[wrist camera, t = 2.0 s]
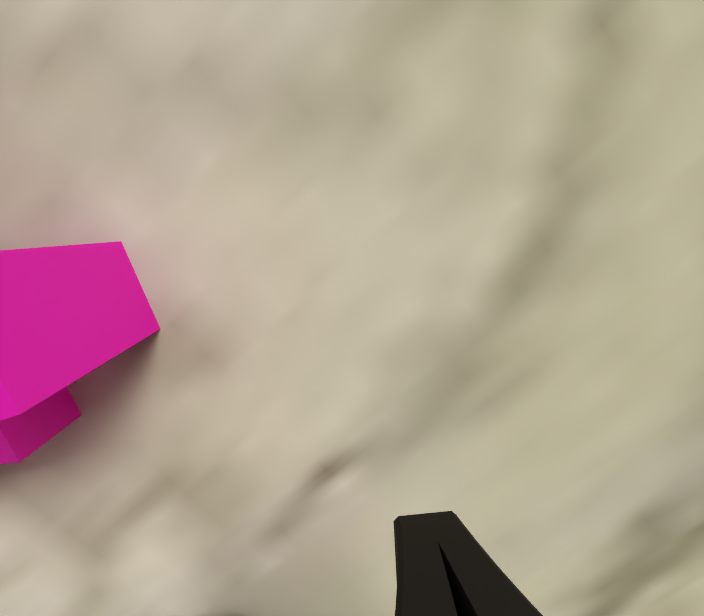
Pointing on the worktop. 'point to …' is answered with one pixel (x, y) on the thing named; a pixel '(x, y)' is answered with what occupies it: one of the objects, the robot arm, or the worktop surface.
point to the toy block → (60, 333)
